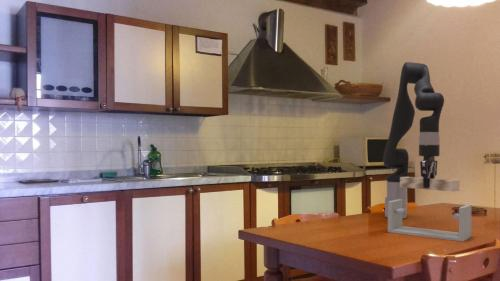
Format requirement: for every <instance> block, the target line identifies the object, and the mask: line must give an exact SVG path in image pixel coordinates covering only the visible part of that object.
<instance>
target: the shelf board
mask: <svg viewBox="0 0 500 281" xmlns="http://www.w3.org/2000/svg"><path fill="white" fill-rule="evenodd" d="M434 178H435V177H434ZM434 178H430V187H429V188H424V187H423V177H418V176H417V177H416V176H407V177H400V187H404V188H407V189H416V190H417V189H419V190H428V191H429V190H430V191H431V190H432V191H442V192H453V193H454V192H459V191H460V185H461V184H460V181H461V180H459V179H449V178H448V179H447V178H446V179H444V178H435V179H434Z"/></svg>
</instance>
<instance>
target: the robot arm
mask: <svg viewBox="0 0 500 281" xmlns="http://www.w3.org/2000/svg"><path fill="white" fill-rule="evenodd" d="M408 84H415V85H414V89H413V90H414V91H413V92H414V94H415V96H416V97H415V99H414V104H413V101H412V100H411V98H410V95H409V92H408ZM398 86H399V87H398V93H397V98H396V102H395V106H394V111H393V115H392V119H391V120H392V121H391V125H390V126H391V127H390V132H389V135H388V139H387V141H386V145H385V149H384V152H383V157H382V158H383V159H382V160H383V165H384V166H385V167H386V168H396V170H395V171H394V172H392V173H390V174H389V175H387V176H386V196H385V197H384V208H385V209H384V217H385V218H388V202H389V201H393V200H398V199H402V208H403V209H406V213H404V214H402V219H407V216H408V215H407V214H408V213H407V210H408V209H407V207H408V206H407V205H408V204H407V203H408V200H407V199H408V198H407V197H408V196H407V193H408V192H407V191H408V188H404V187H400V177H409V176H408V175H409V163H410V162H409V161H410V160H409V152H408V151H407V149H406V148H398V145H399V143H400V141H401V140H402V139H403V137H404V136H405V135H406V134H407V133H408V132H410V131H409V130H410V129H411V128H412V126H413V123H414V119H415V114H416V111H415V108H416V110H418V111H420V112H423V111H424V112H432V114H431V115H428V116H424V117H421V118H420V119H419V136H418V156H420V157H423V159H422V160H420V162H419V164H420V165H419V166H420V178H423V187H424V188H429V187H430V178H434V179H436V176H437V175H438V172H437V171H438V160H435V159H436V158H435V157H439V156H440V118H441V113H442V110H443V107H444V104H445V98H444V96H443V94H442V93H441V92H435V89H434V87H433V85H432V83H431V75H430V70H429V67H428V65H426V64H425V63H418V62H413V61H412V62H411V61H410V62H409V61H407V62H404V64H403V65H402V68H401V72H400V78H399V84H398ZM414 105H415V107H414Z"/></svg>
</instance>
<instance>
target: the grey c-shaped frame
mask: <svg viewBox="0 0 500 281" xmlns="http://www.w3.org/2000/svg"><path fill="white" fill-rule="evenodd" d="M404 213H406V209H403V208H402V199H398V200H393V201H389V202H388V217H387V233H391V234H392V233H393V234H399V235H400V234H402V235H409V236H414V237H415V236H416V237H425V238H432V239H433V238H434V239H440V240H441V239H442V240H448V241H449V240H450V241H456V242H465V241H467V240H468V239H470V238H471V237H472V204H465V205H463V206H460V207H459V208H458V213H453V215H452V219H453V220H458V232H456V231H448V230H440V229H430V228H421V227H414V226H413V227H411V226H404V225H403V218H402V214H404Z"/></svg>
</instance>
